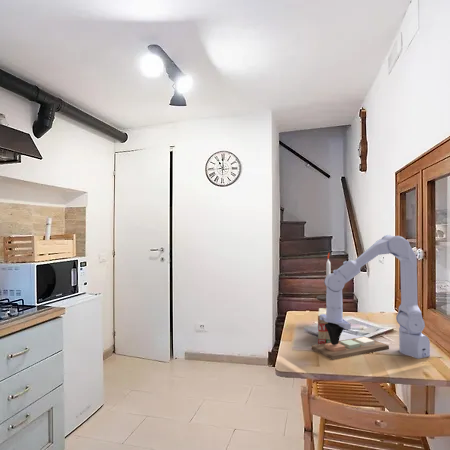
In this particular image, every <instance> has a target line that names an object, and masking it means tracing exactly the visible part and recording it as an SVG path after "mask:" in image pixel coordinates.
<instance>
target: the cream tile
mask: <svg viewBox="0 0 450 450" xmlns="http://www.w3.org/2000/svg"><path fill="white" fill-rule="evenodd" d="M361 337H362V338H359V337H355V338H356V339H355V342H358V343H360V345H362V346H369V345H374V340H375V339H373V340H371V339H372V338H370V339H368V338H369V337H368V338H366V337H367V336H365V337H364V336H361Z"/></svg>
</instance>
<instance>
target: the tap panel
mask: <svg viewBox="0 0 450 450" xmlns="http://www.w3.org/2000/svg"><path fill="white" fill-rule="evenodd" d="M362 337H366V338H368V339H371V340H374V345H369V346H362V345H360V347H358V348H353V349H348V348H346V347H345V350H342V351H337V352H333V351H331V350H328V349H326V348H325V344H328V343H324V344H314V345H311V350H312V351H314V352H317V353H318V354H320V355H322V356H324V357H326V358H328V359H330V360H332V361H333V360H334V361H335V360H339V359H344V358H350V357H354V356H359V355H364V354H369V353H374V352H380V351H385V350H389V349H390V346H389V345H388V344H387V343H384V342H381V341H378V340H375V339H373V338H370V337H367V336H359V337H358V338H362ZM356 338H357V337H354V338H348V339H343V340H339V342H338V343H339V344H340V341H345V340H353V341H355V339H356ZM330 343H331V342H330Z"/></svg>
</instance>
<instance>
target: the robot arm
mask: <svg viewBox="0 0 450 450" xmlns="http://www.w3.org/2000/svg"><path fill="white" fill-rule="evenodd" d="M389 254H390V255H392V256H393V257H395V258H396V259H398V261H399V263H400V264H399V265H400V267H399V269H400V301H401V302H400V304H399V306H398V311H397V314H396V317H395V318H396V322H397V324H398V325H399V329H398V332H399V333H398V342H399V344H398V345H399V349H398V350H399V351H398V352H399V353H400V354H403V355H406V356H410V357H412V358H414V359H417V360H418V359H419V360H420V359H423V358H427V357H428V358H429V357H430V356H431V349H430V347H431V346H430V344H431V341H430V339H429V337H428V336H427V335H425V334H423V333H422V332H423V331H424V330H425V327H426V325H425V323H426V322H425V320H424V319H423V315H422V313H423V312H422V311H421V309H420V307H419V305H418V300H419V299H418V267H417V266H418V262H417V261H418V260H417V259H418V258H417V254H416V252H415V251H414V249H413V248H412V246H411V245H410V241H409V240H407V239H406V238H405V237H403V236H401V235H391V234H387V235H384V236H382V238H380V239H378V240H376V241H375V242H374V243H373V244H372V245H371V246H370V247H369V248H367V249H366V250H364V252H362V253H361V254H360V255H359V256H358V257H357V258H355V259H354V260H351V259H349V260H348V261H347V260H344V261H343V262H342V263H343V264H342V265H340V266H339V268H337V269H333V272H332V273H331V274H329V275H327V276H325V278H324V286H326V290H325V291H327V293H326V294H325V295H326V302H325V303H326V315H325V314H321V315H320V320H324V321H325V322H328V324H325V327H326V329H327V331H328V333H329V336H330V340H331V344H333V345H336V344H338V342H339V341H340V339H341V334H342V333H343V331H344V330H351V323H350V322H348V321H347V320H346V319H344V318H343V315H344V314H343V313H344V312H343V306H344V305H343V289H344V288H345V285H346V284H347V283H348V282H350V281H351V280H352V279H353V278H355V277H356V276H357V275H359V274H360V273H361V269H362V267H363V266H365V265H366V264H368V263H369V262H371V261H372V260H373V259H375V258H376V257H378V256H379V255H389Z"/></svg>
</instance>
